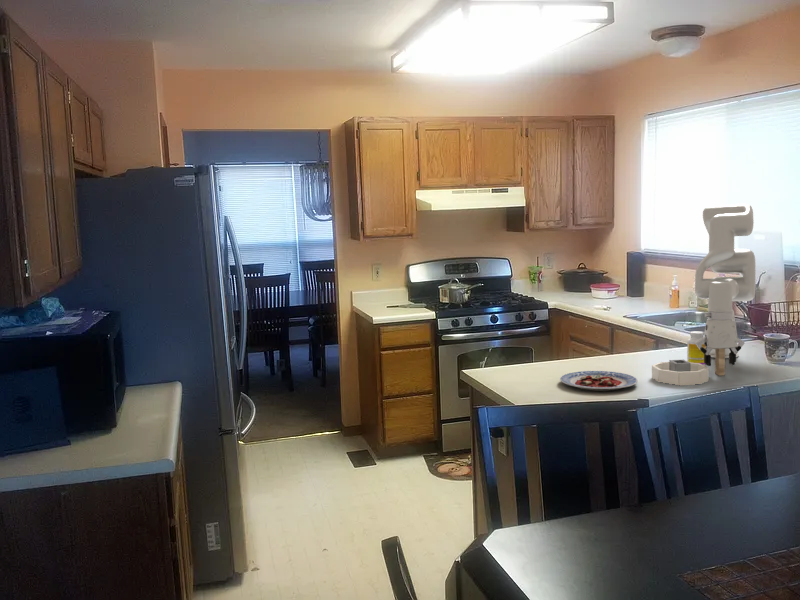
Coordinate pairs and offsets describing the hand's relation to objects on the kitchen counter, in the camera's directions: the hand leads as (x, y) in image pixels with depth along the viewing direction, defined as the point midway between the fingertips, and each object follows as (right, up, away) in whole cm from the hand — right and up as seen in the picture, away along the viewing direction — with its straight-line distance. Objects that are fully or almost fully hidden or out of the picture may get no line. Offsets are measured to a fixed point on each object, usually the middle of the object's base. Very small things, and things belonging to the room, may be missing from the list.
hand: (719, 364), depth 239 cm
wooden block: (0, -3, 0) cm, 4 cm away
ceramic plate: (-45, -7, -6) cm, 46 cm away
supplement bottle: (-1, -2, +15) cm, 16 cm away
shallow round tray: (-16, -5, -4) cm, 17 cm away
